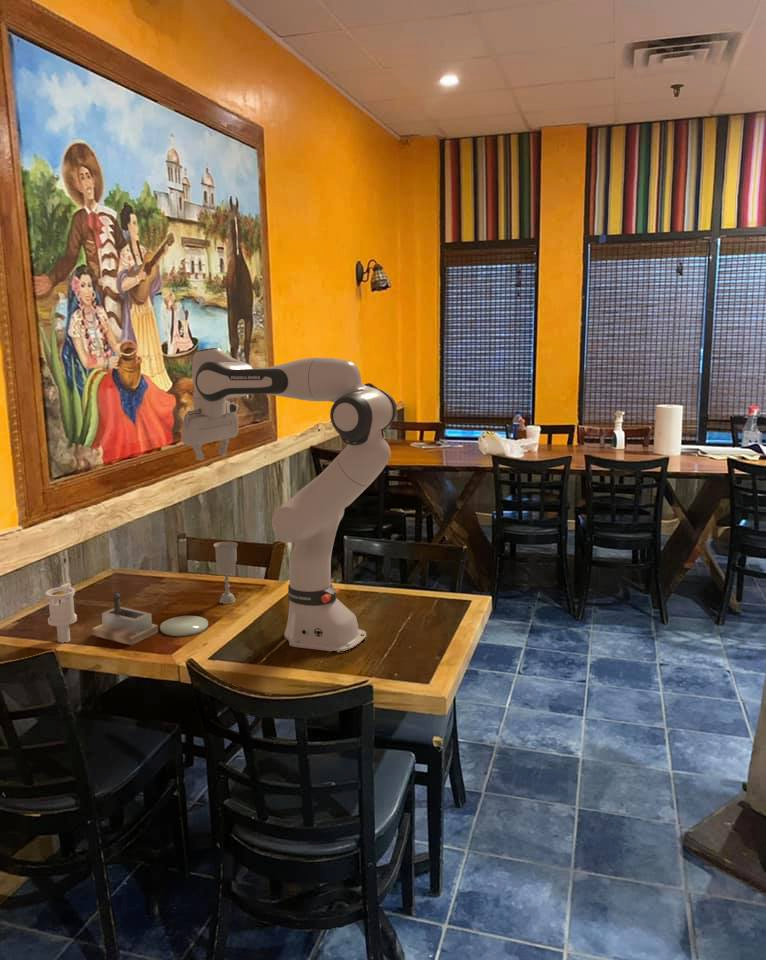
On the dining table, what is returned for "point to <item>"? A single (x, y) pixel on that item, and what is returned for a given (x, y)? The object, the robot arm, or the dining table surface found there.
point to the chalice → (226, 566)
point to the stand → (119, 635)
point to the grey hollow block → (127, 621)
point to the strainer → (62, 611)
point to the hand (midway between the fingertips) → (211, 457)
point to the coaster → (183, 626)
